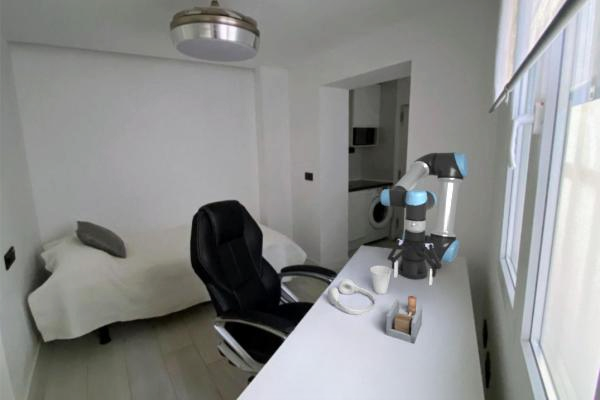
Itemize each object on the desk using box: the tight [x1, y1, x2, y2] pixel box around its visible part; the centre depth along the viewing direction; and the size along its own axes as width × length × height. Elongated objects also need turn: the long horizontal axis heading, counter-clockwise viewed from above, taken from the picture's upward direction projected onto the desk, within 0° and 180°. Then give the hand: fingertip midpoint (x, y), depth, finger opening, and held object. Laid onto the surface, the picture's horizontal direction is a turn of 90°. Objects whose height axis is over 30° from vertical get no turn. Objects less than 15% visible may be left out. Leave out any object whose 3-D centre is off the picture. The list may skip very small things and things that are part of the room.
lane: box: [385, 299, 423, 344], centre depth 113 cm, size 13×10×8 cm
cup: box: [369, 265, 393, 295], centre depth 142 cm, size 10×10×11 cm
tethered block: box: [394, 295, 417, 335], centre depth 117 cm, size 19×5×7 cm, turn 148°
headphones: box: [327, 278, 376, 316], centre depth 134 cm, size 7×18×20 cm
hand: (412, 280), depth 121 cm, fingers open, 13 cm apart
